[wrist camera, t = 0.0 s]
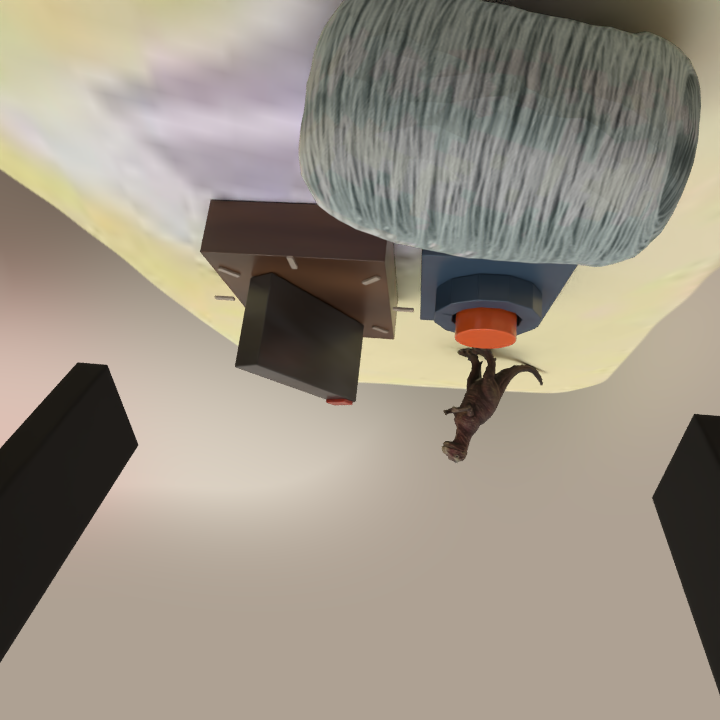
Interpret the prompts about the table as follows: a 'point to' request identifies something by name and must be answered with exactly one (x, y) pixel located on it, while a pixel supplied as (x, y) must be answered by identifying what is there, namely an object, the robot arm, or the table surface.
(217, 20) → the table surface
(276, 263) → the dial console
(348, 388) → the pointer
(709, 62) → the table surface
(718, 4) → the table surface
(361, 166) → the grey striped ovoid
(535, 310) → the buzzer
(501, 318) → the button
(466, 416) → the dinosaur model
